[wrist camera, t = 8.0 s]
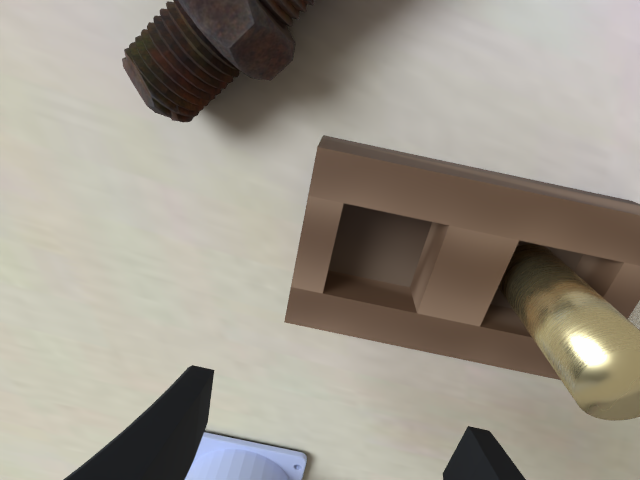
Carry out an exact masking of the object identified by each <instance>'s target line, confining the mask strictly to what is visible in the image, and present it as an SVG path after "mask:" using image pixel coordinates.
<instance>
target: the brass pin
mask: <svg viewBox="0 0 640 480" xmlns="http://www.w3.org/2000/svg"><path fill="white" fill-rule="evenodd" d="M498 288H499V289H500V291H501V292H502V294H503V295H504V297H505V298H506V300H507V301H508V303H509V304H510V306H511V307H512V308H513V310H514V311H515V313H516V314H517V316H518V317H519V319H520V320H521V322H522V323H523V325H524V326H525V328H526V329H527V330H528V332H529V333H530V335H531V336H532V338H533V339H534V341H535V342H536V344H537V345H538V347H539V348H540V350H541V351H542V352H543V354H544V355H545V357H546V358H547V360H548V361H549V363H550V364H551V366H552V367H553V369H554V370H555V372H556V373H557V375H558V376H559V377H560V379H561V380H562V382H563V383H564V385H565V386H566V388H567V389H568V391H569V392H570V394H571V395H572V397H573V398H574V399H575V401H576V402H577V404H578V405H579V407H580V408H581V409H582V410H583V411H585V412H586V413H587V414H589V415H591V416H594V417H596V418H600V419H605V420H627V419H632V418H636V417H640V330H639V329H638V328H636V327H635V326H634V325H633V324H632V323H631V322H630V321H629V320H628V319H626V318H625V317H624V316H623V315H622V314H621V313H620V312H619V311H617V310H616V309H615V308H614V307H613V306H612V305H611V304H610V303H608V302H607V301H606V300H605V299H604V298H603V297H602V296H601V295H600V294H598V293H597V292H596V291H595V290H594V289H593V288H592V287H591V286H589V285H588V284H587V283H586V282H585V281H584V280H583V279H582V278H580V277H579V276H578V275H577V274H576V273H575V272H574V271H573V270H572V269H570V268H569V267H568V266H567V265H566V264H565V263H564V262H563V261H561V260H560V259H559V258H558V257H557V256H556V255H555V254H554V253H552V252H551V251H550V250H549V249H547V248H546V247H543V246H540V245H535V244H527V245H521V246H518V247H516V249H515V251H514V253H513V256H512V258H511V260H510V262H509V264H508V266H507V269H506V271H505V273H504V275H503V277H502V280H501V282H500V284H499V286H498Z"/></svg>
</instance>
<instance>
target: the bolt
mask: <svg viewBox="0 0 640 480" xmlns="http://www.w3.org/2000/svg"><path fill="white" fill-rule="evenodd" d="M306 4H310V5H314V0H174V2H167V3H166V6H167V9H161V10H160V15H161V16H155V17H154V18H153V19H154V23H149V24H148V26H147V29H148V30H145V29H143V30H142V32H141V36H138V37H136V38H135V42H133V43H131V44H130V45H129V48H127V49H125V50H124V51H125V56H126V57H125V58H123V59H122V61H123V67H124V69H125V71H126V72H127V74H128V76H129V77H130V79H131V81H132V83H133V84H134V86H135V88H136V89H137V91H138V92H139V94H140V96H141V97H142V99H143V100H144V102H145V104H146V105H147V106H148V107H149V108H150V109H152V110H153V111H154V112H155V113H158V114H161V115H164V116H167V117H170V118H171V119H172V120H174V121H180V122H190V121H191V120H192V119H193V117H195V116H197V115H198V113H199V111H201V110H203V108H204V106H207V105H208V103H209V102H210V101H211V100H212V99H214V98H215V95H217V94H219V93H221V89H225V88H226V86H227V83H230V82H233V77H238V75H239V71H241V72H243V73H244V74H246V75H247V76H249V77H250V78H254V79H261V80H272V79H273V78H274V77H275V76H276V75H277V74H278V73H279V72H280V71H282V70H283V69H284V68H285V67H286V66H287V65H288V64H289V63H290V62H292V61H293V55H294V50H295V41H294V39H293V37H292V35H291V33H290V31H289V29H288V27H287V26H286V25H289V26H292V18H295V19H299V11H303V12H306Z"/></svg>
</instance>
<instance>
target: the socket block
mask: <svg viewBox="0 0 640 480" xmlns="http://www.w3.org/2000/svg"><path fill="white" fill-rule="evenodd" d="M527 244H535V245H540V246H543V247H546V248H547V249H549V250H550V251H551V252H552V253H554V254H555V255H556V256H557V257H558V258H559V259H560V260H561V261H563V262H564V263H565V264H566V265H567V266H568V267H569V268H570V269H572V270H573V271H574V272H575V273H576V274H577V275H578V276H579V277H580V278H582V279H583V280H584V281H585V282H586V283H587V284H588V285H589V286H591V287H592V288H593V289H594V290H595V291H596V292H597V293H598V294H600V295H601V296H602V297H603V298H604V299H605V300H606V301H607V302H608V303H610V304H611V305H612V306H613V307H614V308H615V309H616V310H617V311H619V312H620V313H621V314H622V315H623V316H624V317H625V318H626V319H628V317H629V316H630V314H631V312H632V311H633V309H634V308H635V306H636V305H637V303H638V302H639V300H640V204H637V203H635V202H633V201H629V200H624V199H620V198H615V197H610V196H605V195H601V194H596V193H591V192H587V191H582V190H577V189H573V188H568V187H563V186H558V185H554V184H549V183H544V182H540V181H535V180H530V179H526V178H521V177H516V176H511V175H507V174H502V173H497V172H493V171H488V170H483V169H479V168H474V167H469V166H464V165H460V164H455V163H450V162H446V161H441V160H436V159H432V158H427V157H422V156H417V155H413V154H408V153H403V152H399V151H394V150H389V149H385V148H380V147H375V146H370V145H366V144H361V143H356V142H352V141H347V140H342V139H338V138H333V137H328V136H323V137H322V139H321V141H320V143H319V145H318V147H317V153H316V158H315V163H314V168H313V174H312V179H311V184H310V190H309V195H308V200H307V205H306V211H305V216H304V221H303V226H302V232H301V237H300V242H299V248H298V253H297V258H296V263H295V269H294V274H293V279H292V285H291V290H290V295H289V300H288V306H287V311H286V316H285V321H284V322H286V323H291V324H296V325H300V326H305V327H310V328H315V329H319V330H324V331H329V332H334V333H339V334H343V335H348V336H353V337H358V338H362V339H367V340H372V341H377V342H382V343H386V344H391V345H396V346H401V347H406V348H410V349H415V350H420V351H425V352H429V353H434V354H439V355H444V356H449V357H453V358H458V359H463V360H468V361H473V362H477V363H482V364H487V365H492V366H496V367H501V368H506V369H511V370H516V371H520V372H525V373H530V374H535V375H539V376H544V377H549V378H554V379H559V380H561V379H560V377H559V376H558V375H557V373H556V372H555V370H554V369H553V367H552V366H551V364H550V363H549V361H548V360H547V358H546V357H545V355H544V354H543V352H542V351H541V350H540V348H539V347H538V345H537V344H536V342H535V341H534V339H533V338H532V336H531V335H530V333H529V332H528V330H527V329H526V328H525V326H524V325H523V323H522V322H521V320H520V319H519V317H518V316H517V314H516V313H515V311H514V310H513V308H512V307H511V306H510V304H509V303H508V301H507V300H506V298H505V297H504V295H503V294H502V292H501V291H500V289H499V288H498V286H499V284H500V282H501V280H502V277H503V275H504V273H505V271H506V269H507V266H508V264H509V262H510V260H511V258H512V256H513V253H514V251H515V249H516V247H518V246H521V245H527Z"/></svg>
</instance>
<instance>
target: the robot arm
mask: <svg viewBox="0 0 640 480" xmlns="http://www.w3.org/2000/svg"><path fill="white" fill-rule="evenodd" d="M213 375H214V370H211V369H207V368H202V367H198V366H193V365H192V366H190V367H188V368H187V370H186V371H185V372H184V373H183V374H182V375H181V376H180V377H179V378H178V379H177V380H176V381H175V382H174V383H173V384H172V385H171V386H170V388H169V389H168V390H167V391H166V392H165V393H164V394H162V395H161V396H160V397H159V398H158V399H157V400H156V401H155V402H154V403H153V404H152V405H151V406H150V407H149V408H148V409H147V410H146V411H145V412H144V413H142V414H141V415H140V416H139V417H138V418H137V419H136V420H135V421H134V422H133V423H132V424H131V425H129V426H128V427H127V428H126V429H125V430H124V431H123V432H122V433H120V434H119V435H118V436H117V437H116V438H114V439H113V440H112V441H111V442H110V443H108V444H107V445H106V446H105V447H104V448H103V449H101V450H100V451H99V452H98V453H97V454H95V455H94V456H93V457H92V458H91V459H89V460H88V461H87V462H86V463H84V464H83V465H82V466H81V467H79V468H78V469H77V470H75V471H74V472H73V473H72V474H70V475H69V476H68V477H66V478H65V479H64V480H302V478H303V474H304V470H305V466H306V462H307V456H306V455H305V454H304V453H302V452H298V451H293V450H288V449H283V448H279V447H274V446H269V445H264V444H259V443H254V442H250V441H245V440H240V439H235V438H230V437H225V436H221V435H216V434H211V433H206V432H204V431H205V428H206V425H207V423H208V415H209V407H210V399H211V391H212V383H213ZM443 480H526V479H525V478H524V477H523V475H522V474H521V473H520V471H519V470H518V469H517V467H516V466H515V464H514V463H513V462H512V460H511V459H510V458H509V456H508V455H507V454H506V452H505V451H504V449H503V448H502V447H501V445H500V444H499V443H498V441H497V440H496V439H495V437H494V436H493V435H492V434H491V432H490V431H488V430H483V429H479V428H474V427H470V426H468V427H467V429H466V431H465V433H464V435H463V437H462V439H461V440H460V442H459V444H458V446H457V448H456V450H455V452H454V454H453V455H452V457H451V459H450V461H449V463H448V465H447V467H446V469H445V470H444V472H443Z"/></svg>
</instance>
